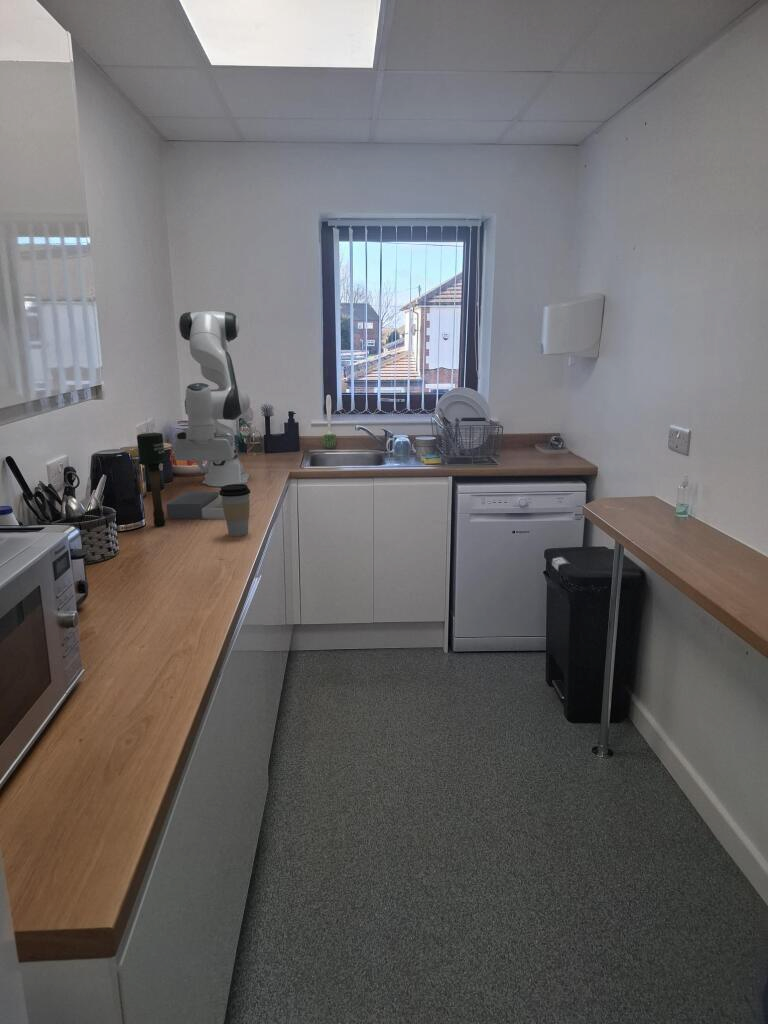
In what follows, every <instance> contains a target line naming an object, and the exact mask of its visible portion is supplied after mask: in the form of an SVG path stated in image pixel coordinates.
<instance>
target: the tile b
mask: <svg viewBox="0 0 768 1024" xmlns="http://www.w3.org/2000/svg"><path fill="white" fill-rule="evenodd" d="M214 508H223V505H222V503H220V504H218V505H216V506H215V507H214Z"/></svg>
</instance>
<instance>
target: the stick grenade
mask: <svg viewBox="0 0 768 1024" xmlns="http://www.w3.org/2000/svg"><path fill="white" fill-rule="evenodd" d="M136 441H137V450H138V451H137V452H138V465H145V466H146V467H147V470H148V477H149V478H148V479H149V480H148V481H149V483H150V488H151V496H152V497H151V498H152V499H151V500H152V505H153V511H152V515H153V525H154V526H155V527H158V528H159V527H160V528H161V527H164V526H165V525H166V519H165V518H166V517H165V512H164V509H163V502H162V495H161V483H160V481H161V479H160V477H161V476H160V467H159V466H160V465H161V464H164V463H167V461H168V460H167V458H166V454H165V445H164V436H163V434H162V433H160V432H145V433H140V434H137V435H136Z"/></svg>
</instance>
